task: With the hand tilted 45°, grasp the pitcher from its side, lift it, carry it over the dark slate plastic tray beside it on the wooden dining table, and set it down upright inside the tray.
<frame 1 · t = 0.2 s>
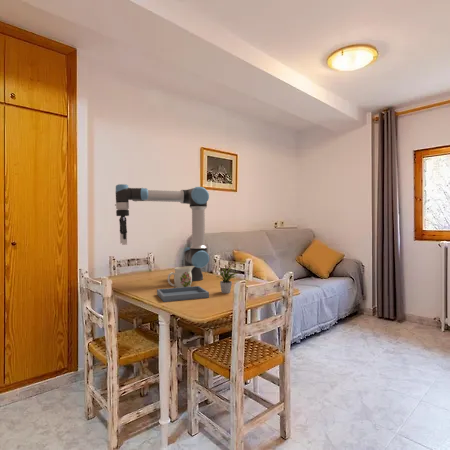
hand: (123, 243, 202), 28 cm above the table, tool pointing down, fingers open, 13 cm apart
pitcher: (181, 289, 200), on the table
house plant: (224, 293, 191), on the table
tray: (182, 296, 183), on the table
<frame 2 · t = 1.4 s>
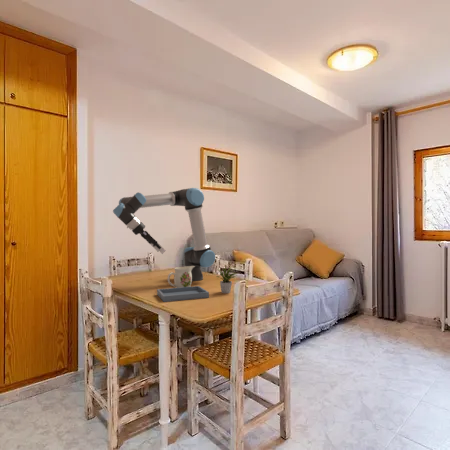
hand: (161, 251, 195), 24 cm above the table, tool tilted 45°, fingers open, 13 cm apart
nothing on the table moved.
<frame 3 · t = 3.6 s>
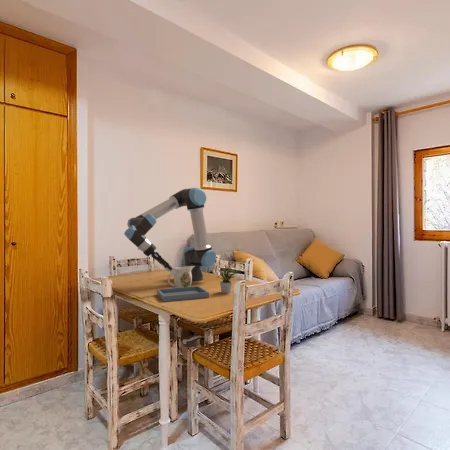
hand: (172, 271, 197), 11 cm above the table, tool tilted 45°, fingers open, 13 cm apart
nothing on the table moved.
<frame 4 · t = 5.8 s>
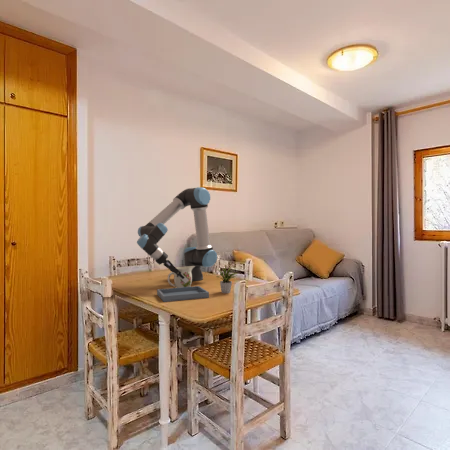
hand: (184, 279, 200), 6 cm above the table, tool tilted 45°, fingers closed on pitcher, 11 cm apart
pitcher: (181, 289, 200), on the table, touching gripper
everything else where it was.
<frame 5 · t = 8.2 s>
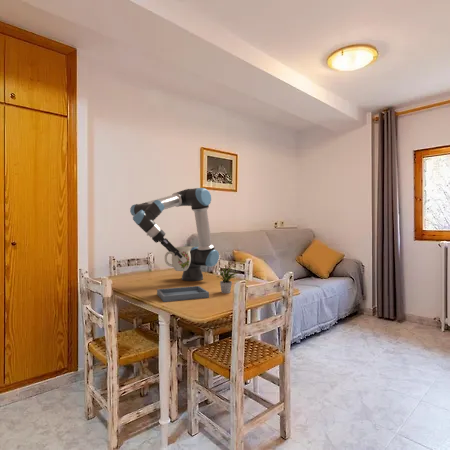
hand: (182, 260, 189), 19 cm above the table, tool tilted 45°, fingers closed on pitcher, 11 cm apart
pitcher: (179, 270, 188), point 13 cm above the table, touching gripper
everything else where it was.
when the fingers open (8 cm above the table, at t = 11.1 s): pitcher drops 1 cm, resting on tray.
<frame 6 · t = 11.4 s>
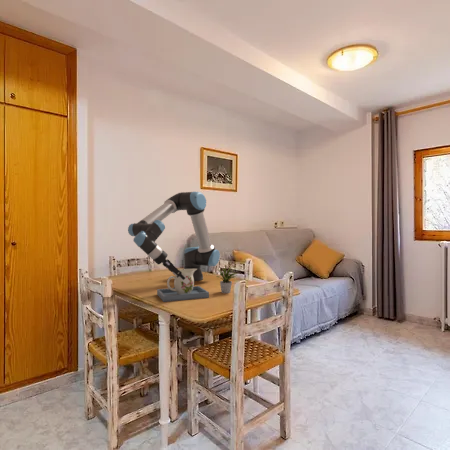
hand: (184, 280, 183), 9 cm above the table, tool tilted 45°, fingers open, 13 cm apart
pitcher: (182, 294, 183), point 1 cm above the table, touching tray
everything else where it was.
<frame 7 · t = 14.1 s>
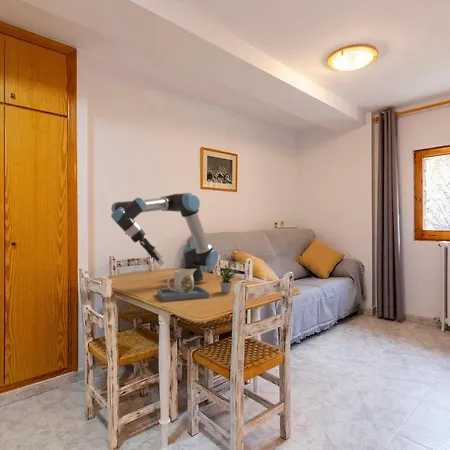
hand: (161, 261, 180), 20 cm above the table, tool tilted 40°, fingers open, 13 cm apart
nothing on the table moved.
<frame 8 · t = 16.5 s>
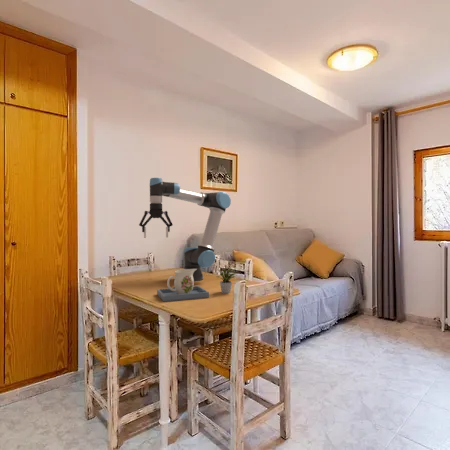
hand: (156, 237, 201), 32 cm above the table, tool pointing down, fingers open, 13 cm apart
nothing on the table moved.
at the end: pitcher inside the target area on the tray (0.0 cm from its centre), point 0.6 cm above the tray's base; pitcher tilted 0°; the gripper is holding nothing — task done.
